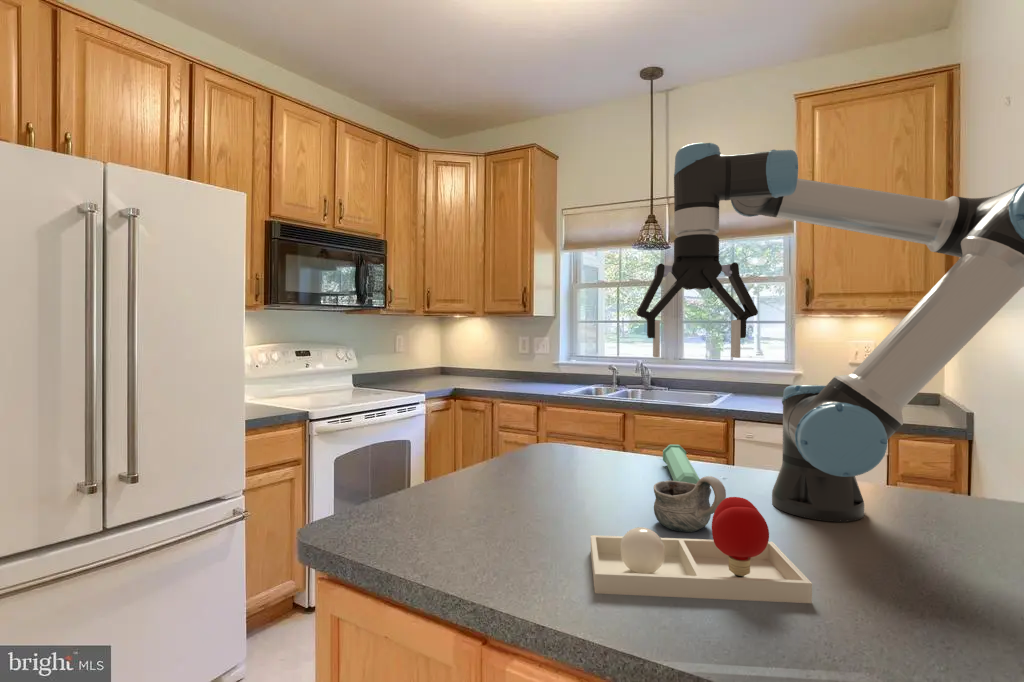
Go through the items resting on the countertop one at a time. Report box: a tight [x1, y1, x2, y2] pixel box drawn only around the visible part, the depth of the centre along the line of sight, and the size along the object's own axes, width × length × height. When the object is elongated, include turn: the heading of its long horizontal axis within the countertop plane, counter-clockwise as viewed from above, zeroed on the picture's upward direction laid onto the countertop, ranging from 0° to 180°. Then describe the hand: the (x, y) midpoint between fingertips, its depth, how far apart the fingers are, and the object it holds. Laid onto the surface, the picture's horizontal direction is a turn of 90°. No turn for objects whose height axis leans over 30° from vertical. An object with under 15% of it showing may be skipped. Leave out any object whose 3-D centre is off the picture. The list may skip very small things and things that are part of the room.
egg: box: [620, 526, 665, 574], centre depth 75 cm, size 6×6×6 cm
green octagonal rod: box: [662, 444, 701, 484], centre depth 123 cm, size 6×6×25 cm
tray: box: [590, 534, 813, 604], centre depth 74 cm, size 26×13×3 cm, turn 84°
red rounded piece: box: [711, 496, 770, 577], centre depth 73 cm, size 9×7×10 cm
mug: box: [653, 475, 727, 533], centre depth 92 cm, size 10×12×10 cm
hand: (695, 357), depth 97 cm, fingers open, 13 cm apart
